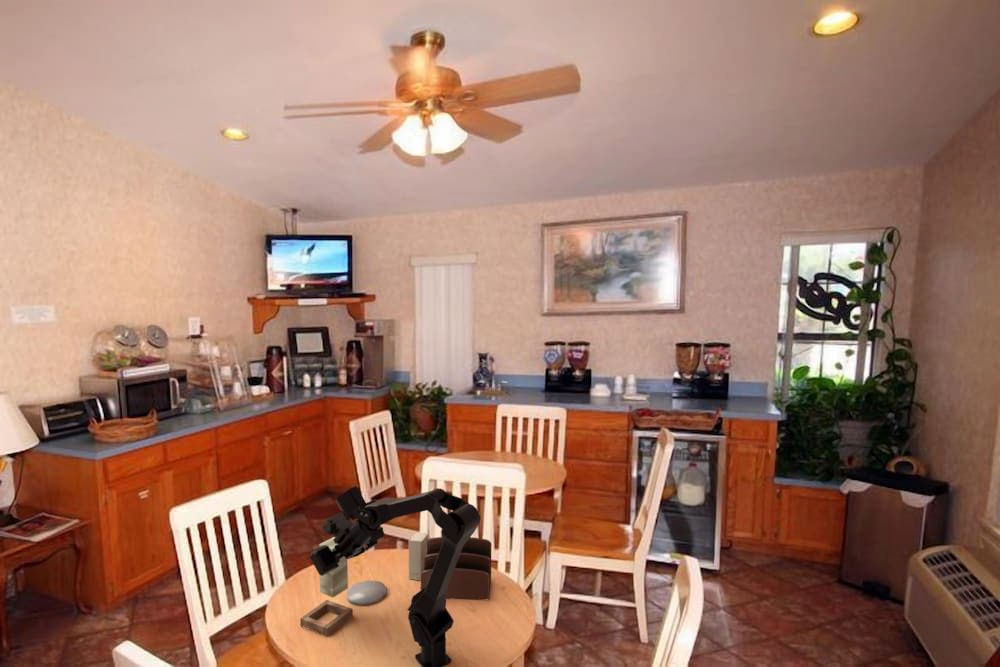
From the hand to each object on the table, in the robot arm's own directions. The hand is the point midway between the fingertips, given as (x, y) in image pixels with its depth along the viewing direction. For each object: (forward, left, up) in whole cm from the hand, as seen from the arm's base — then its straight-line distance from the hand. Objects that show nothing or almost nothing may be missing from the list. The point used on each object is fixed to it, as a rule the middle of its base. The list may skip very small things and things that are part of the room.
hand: (330, 564), depth 131 cm
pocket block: (-3, +2, -13) cm, 14 cm away
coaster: (+3, -11, -13) cm, 18 cm away
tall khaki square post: (-1, -1, -7) cm, 7 cm away
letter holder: (-9, -34, -14) cm, 38 cm away
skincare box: (+4, -28, -14) cm, 32 cm away
